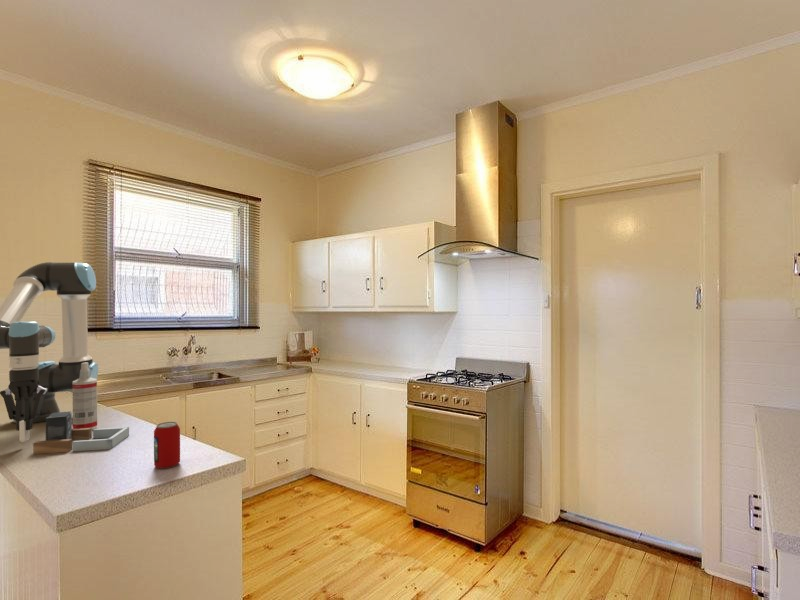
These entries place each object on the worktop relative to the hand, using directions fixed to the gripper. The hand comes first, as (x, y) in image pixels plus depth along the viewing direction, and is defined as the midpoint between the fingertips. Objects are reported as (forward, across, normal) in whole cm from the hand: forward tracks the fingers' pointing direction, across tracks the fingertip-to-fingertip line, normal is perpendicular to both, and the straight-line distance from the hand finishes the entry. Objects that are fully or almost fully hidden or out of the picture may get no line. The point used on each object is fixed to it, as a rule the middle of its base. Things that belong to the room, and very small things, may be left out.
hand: (24, 440), depth 147 cm
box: (+3, +10, 0) cm, 10 cm away
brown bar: (+3, +12, 0) cm, 12 cm away
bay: (+3, +23, 0) cm, 23 cm away
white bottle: (+3, +8, +21) cm, 23 cm away
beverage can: (+3, +52, -28) cm, 59 cm away
